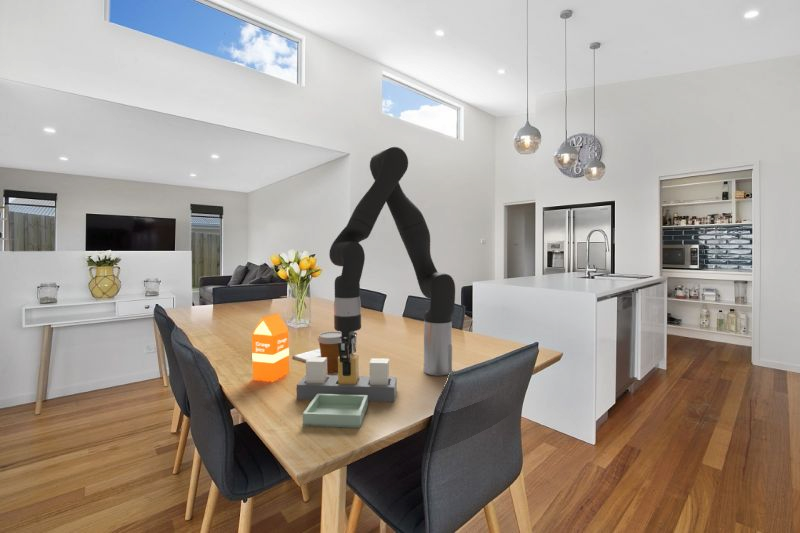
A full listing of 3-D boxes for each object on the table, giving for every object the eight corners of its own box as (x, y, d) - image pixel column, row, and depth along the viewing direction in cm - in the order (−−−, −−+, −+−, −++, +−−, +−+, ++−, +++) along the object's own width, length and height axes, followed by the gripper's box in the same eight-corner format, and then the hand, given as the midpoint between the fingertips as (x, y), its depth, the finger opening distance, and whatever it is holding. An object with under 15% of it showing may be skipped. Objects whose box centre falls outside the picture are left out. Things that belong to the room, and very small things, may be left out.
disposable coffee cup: (340, 374, 121) (340, 338, 120) (313, 372, 122) (312, 337, 122) (350, 365, 130) (349, 331, 129) (324, 363, 132) (324, 330, 131)
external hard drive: (292, 359, 139) (319, 352, 148) (306, 364, 133) (332, 355, 143) (292, 355, 139) (318, 348, 148) (306, 359, 133) (332, 351, 143)
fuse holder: (396, 390, 108) (396, 376, 107) (394, 401, 100) (394, 387, 99) (306, 387, 110) (306, 374, 109) (296, 399, 102) (296, 384, 101)
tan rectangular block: (358, 387, 106) (358, 353, 106) (356, 393, 102) (355, 358, 102) (341, 387, 107) (341, 353, 106) (338, 393, 103) (337, 358, 102)
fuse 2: (389, 392, 106) (389, 358, 105) (387, 398, 102) (387, 363, 101) (371, 392, 106) (371, 358, 106) (369, 398, 102) (369, 362, 102)
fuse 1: (327, 391, 107) (327, 357, 106) (323, 396, 103) (323, 361, 102) (310, 390, 107) (310, 357, 107) (306, 396, 103) (305, 361, 103)
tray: (367, 406, 97) (367, 395, 97) (360, 428, 85) (360, 415, 85) (317, 404, 98) (317, 393, 98) (302, 426, 86) (302, 413, 86)
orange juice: (289, 372, 123) (288, 313, 122) (273, 382, 114) (272, 318, 113) (269, 370, 125) (268, 312, 124) (252, 379, 116) (250, 317, 115)
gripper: (356, 317, 96) (357, 382, 97) (364, 308, 110) (365, 364, 111) (327, 317, 96) (328, 381, 97) (340, 308, 111) (341, 364, 112)
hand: (348, 372), depth 104 cm, fingers closed on tan rectangular block, 4 cm apart
